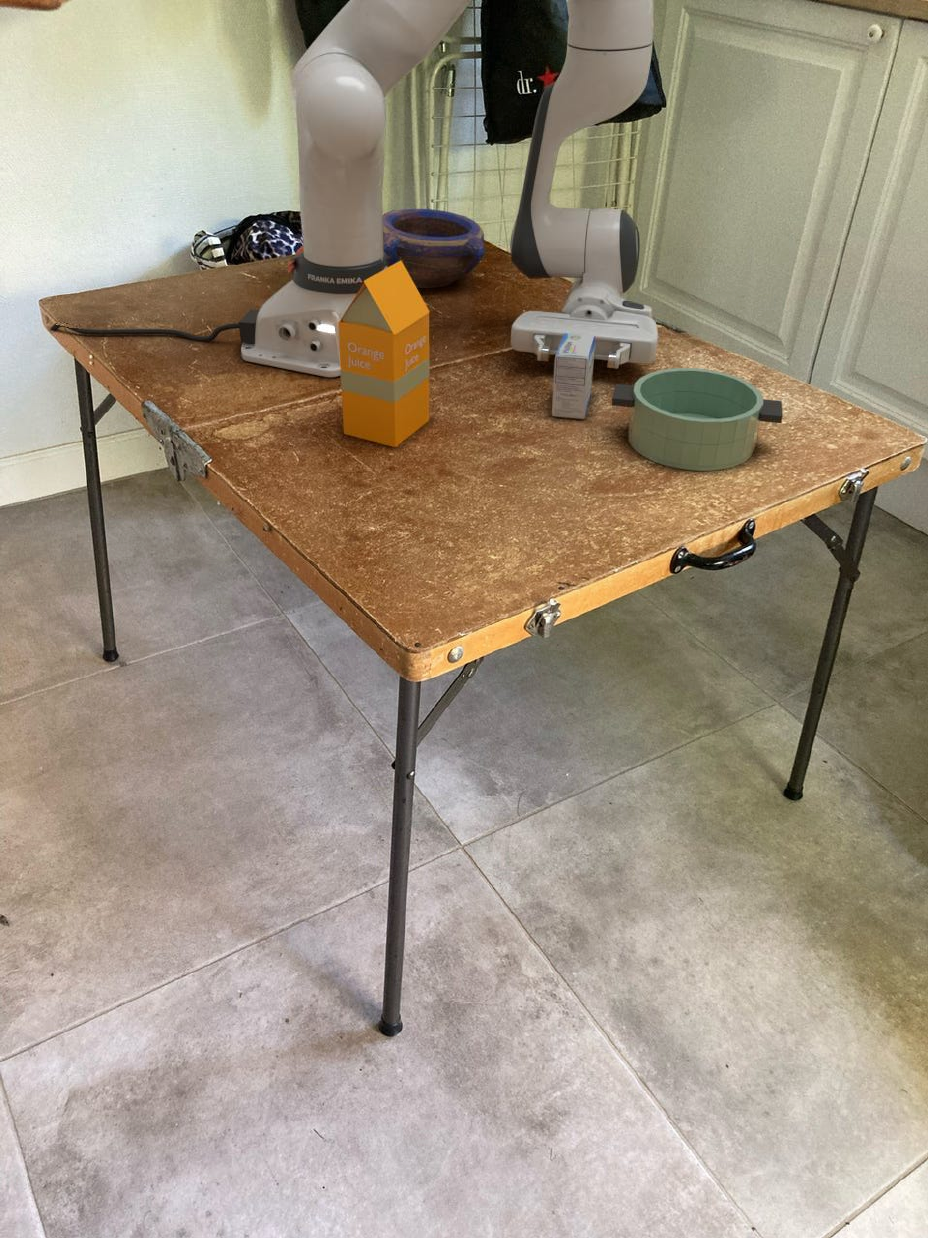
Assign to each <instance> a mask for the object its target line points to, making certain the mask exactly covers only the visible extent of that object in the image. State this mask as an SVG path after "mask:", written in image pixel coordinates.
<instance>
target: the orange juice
mask: <svg viewBox="0 0 928 1238" xmlns="http://www.w3.org/2000/svg"><path fill="white" fill-rule="evenodd" d="M430 313H431V312H430V309H429V308H428V306H427V304H426V302H425V301H424V298H423V296H422V295H421V294H420V292H419V290H418V287H416V286H415V284H414V282H413V281H412V279H411V277H410V275H409V273H408V272H407V270H406V268H405V266H404V264H403V263H402V261H399V262H397V263H395V264H393V265H392V266H390V267H388V268H386V269H384V270H383V271H381V272H379V273H377V274H375V275H374V276H372V277H370V278H368V279H366V280H365V281H364V284H363V285H362V287H361V289H360V290H359V292H358V293H357V295H356V296H355V298H354V300H353V301H352V303H351V304H350V306H349V307H348V309H347V311H346V312H345V314H344V315H343V317H342V318H341V320H340V321H339V322H338V329H339V348H340V367H341V370H340V390H341V401H342V419H343V434H344V435H347V436H350V437H354V438H358V439H361V440H366V441H370V442H374V443H376V444H381V445H385V446H389V447H392V448H397V447H398V446H399V445H401V444H402V443H403V442H404V441H405V440H407V439H408V438H409V437H410V436H412V435H413V434H414V433H416V432H417V431H418V430H420V428H422V427H423V426H424V425H426V424H427V423H428V422H429V421H430V377H431V376H430V372H431V371H430V367H431V365H430V364H431V363H430Z"/></svg>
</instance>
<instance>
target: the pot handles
mask: <svg viewBox="0 0 928 1238" xmlns="http://www.w3.org/2000/svg"><path fill="white" fill-rule="evenodd" d="M633 390H634V385H630V384H621V383H616V384H615V386H614V390H613V392H612V393H613V394H612V398H611V406H612V407H613V406H614V407H623V408H630V409H631V408H633V402H634V398H633ZM783 417H784V416H783V401H782V400H774V399H766V398H763V408H762V411H761V413H760V417H759V421H760V422H766V423H772V424H773V423H774V424H782V421H783Z"/></svg>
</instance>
